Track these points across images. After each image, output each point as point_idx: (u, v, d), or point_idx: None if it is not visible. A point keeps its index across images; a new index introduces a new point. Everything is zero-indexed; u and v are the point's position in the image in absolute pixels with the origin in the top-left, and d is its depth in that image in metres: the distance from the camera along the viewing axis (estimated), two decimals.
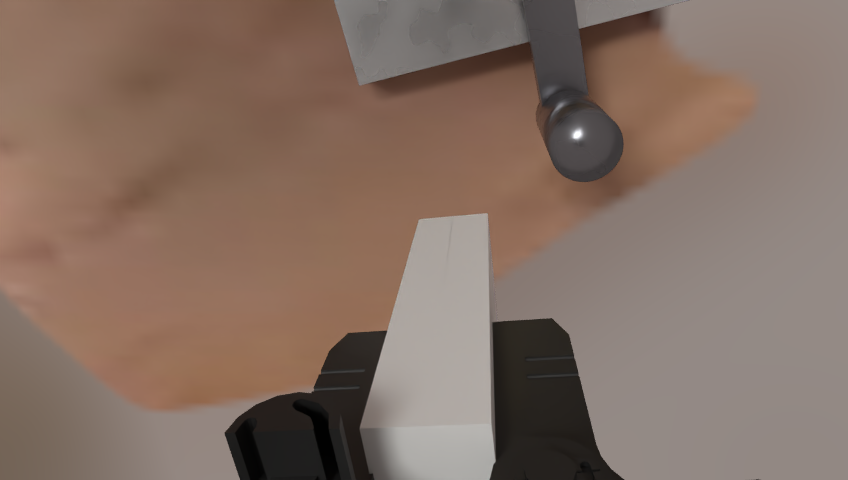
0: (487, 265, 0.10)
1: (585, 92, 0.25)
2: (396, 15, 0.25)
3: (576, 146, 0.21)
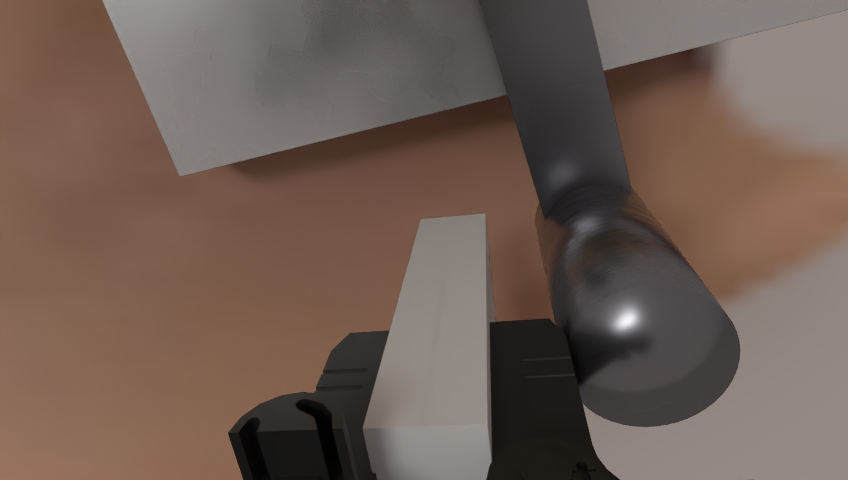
0: (484, 265, 0.10)
1: (626, 187, 0.13)
2: (228, 55, 0.14)
3: (627, 360, 0.09)
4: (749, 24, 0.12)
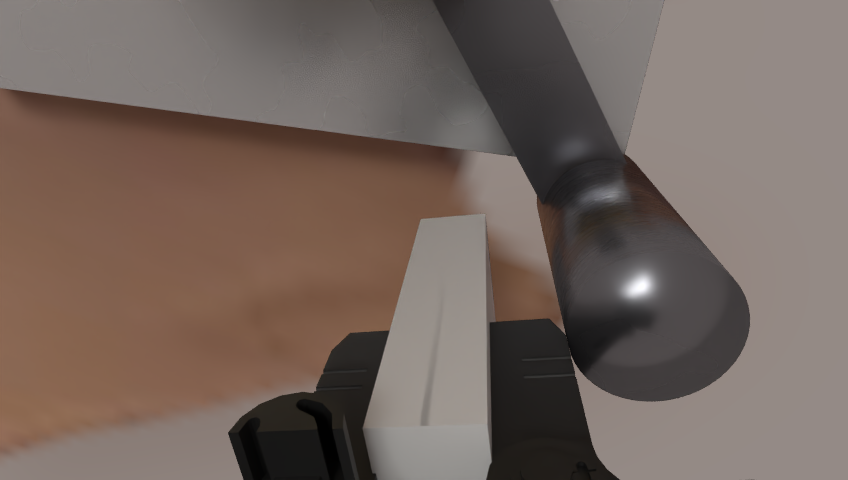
0: (484, 265, 0.10)
1: (619, 159, 0.12)
2: None
3: (632, 333, 0.09)
4: (470, 142, 0.14)
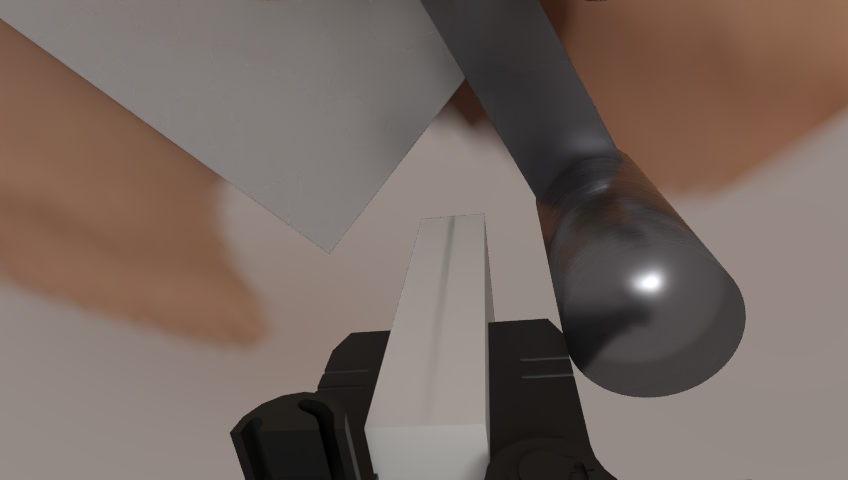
0: (483, 265, 0.10)
1: (615, 156, 0.12)
2: None
3: (627, 330, 0.09)
4: (217, 165, 0.15)
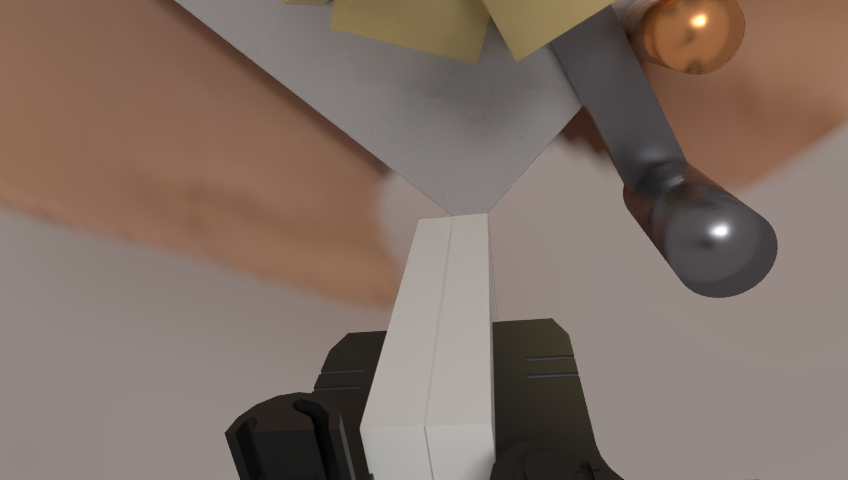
0: (487, 265, 0.10)
1: (683, 162, 0.19)
2: None
3: (711, 256, 0.15)
4: (399, 168, 0.22)
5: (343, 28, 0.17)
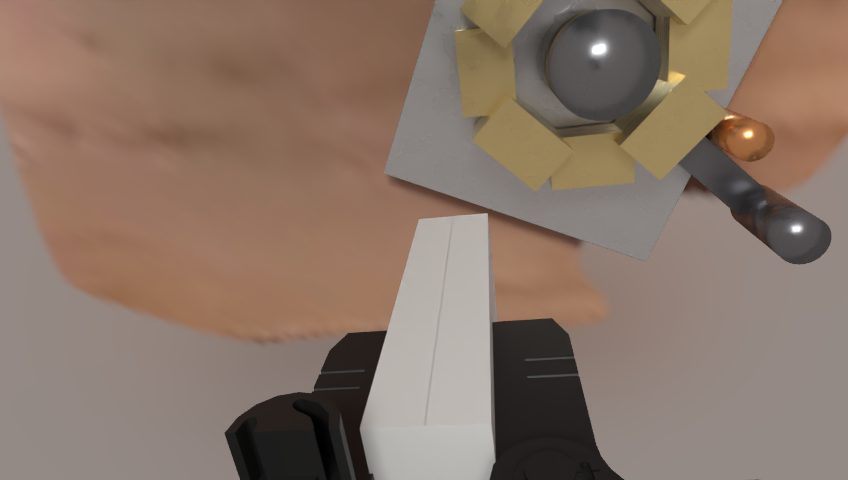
0: (487, 265, 0.10)
1: (762, 189, 0.33)
2: (433, 148, 0.36)
3: (796, 244, 0.29)
4: (593, 240, 0.37)
5: (559, 188, 0.33)
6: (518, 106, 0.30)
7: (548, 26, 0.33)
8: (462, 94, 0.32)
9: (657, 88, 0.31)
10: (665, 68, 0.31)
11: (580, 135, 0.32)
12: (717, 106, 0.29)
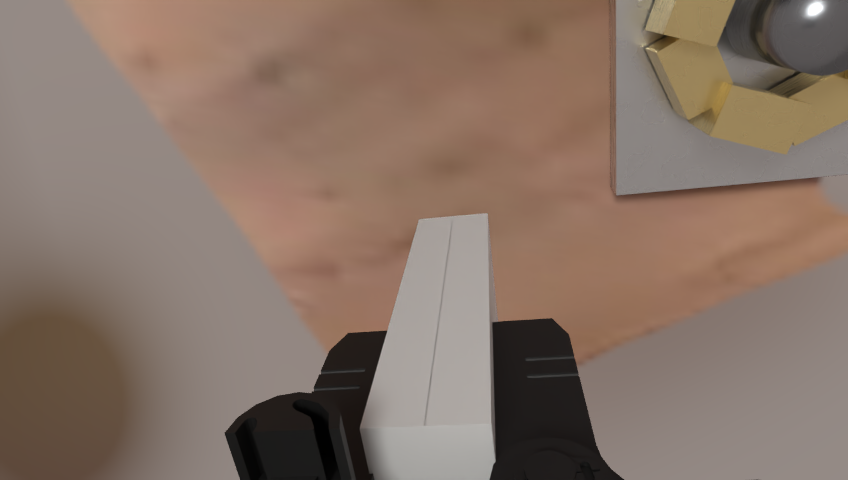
0: (487, 265, 0.10)
1: None
2: (655, 156, 0.38)
3: None
4: (839, 172, 0.38)
5: (801, 141, 0.34)
6: (744, 89, 0.32)
7: None
8: (681, 100, 0.34)
9: None
10: None
11: (805, 87, 0.33)
12: None
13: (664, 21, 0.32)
